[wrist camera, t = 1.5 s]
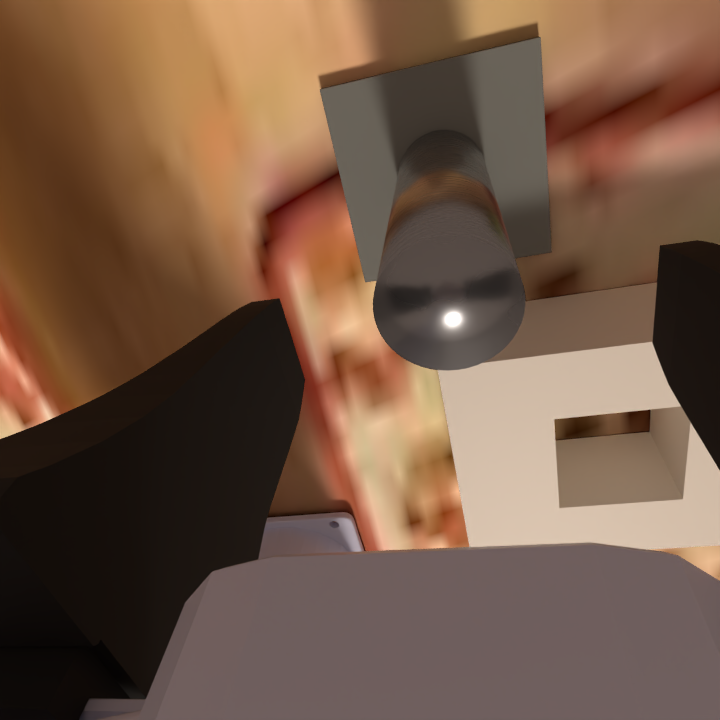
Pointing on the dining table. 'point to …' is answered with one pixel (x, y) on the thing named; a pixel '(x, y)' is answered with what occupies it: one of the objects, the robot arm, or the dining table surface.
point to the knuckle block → (583, 455)
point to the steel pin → (447, 260)
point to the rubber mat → (446, 112)
